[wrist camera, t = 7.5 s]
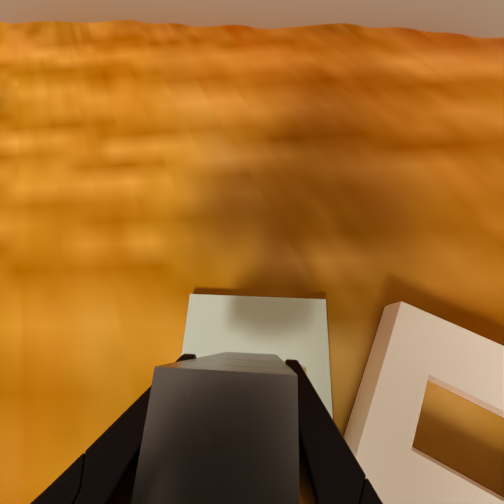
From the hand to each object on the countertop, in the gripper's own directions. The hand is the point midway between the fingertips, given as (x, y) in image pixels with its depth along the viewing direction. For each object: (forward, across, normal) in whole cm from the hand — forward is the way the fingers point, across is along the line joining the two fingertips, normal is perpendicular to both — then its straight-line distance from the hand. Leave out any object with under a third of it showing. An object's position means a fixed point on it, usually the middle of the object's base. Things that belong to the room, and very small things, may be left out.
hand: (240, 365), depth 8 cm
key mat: (+7, 0, +9) cm, 11 cm away
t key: (+4, 0, +6) cm, 7 cm away
